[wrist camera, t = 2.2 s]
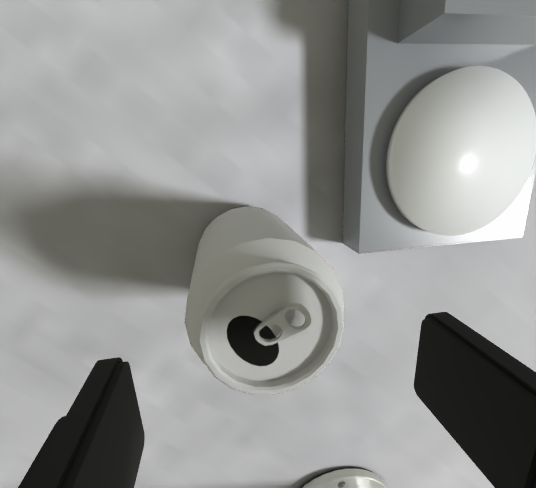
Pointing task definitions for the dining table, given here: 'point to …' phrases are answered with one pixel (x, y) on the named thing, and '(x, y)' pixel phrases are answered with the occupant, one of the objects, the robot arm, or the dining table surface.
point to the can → (262, 304)
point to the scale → (438, 122)
